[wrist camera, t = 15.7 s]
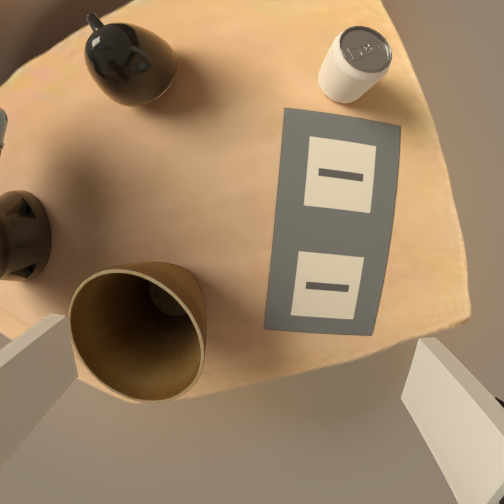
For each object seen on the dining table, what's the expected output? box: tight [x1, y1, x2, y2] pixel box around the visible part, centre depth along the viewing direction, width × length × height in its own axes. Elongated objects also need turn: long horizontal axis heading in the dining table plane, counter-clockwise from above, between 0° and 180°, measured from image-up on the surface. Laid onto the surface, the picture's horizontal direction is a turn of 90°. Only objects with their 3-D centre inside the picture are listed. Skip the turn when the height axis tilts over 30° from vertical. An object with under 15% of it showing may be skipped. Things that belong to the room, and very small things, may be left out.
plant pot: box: [68, 262, 206, 403], centre depth 36 cm, size 15×15×16 cm
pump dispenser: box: [84, 12, 176, 107], centre depth 31 cm, size 10×10×15 cm
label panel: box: [264, 108, 401, 336], centre depth 41 cm, size 16×30×1 cm, turn 175°
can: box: [318, 26, 392, 103], centre depth 31 cm, size 6×6×12 cm
